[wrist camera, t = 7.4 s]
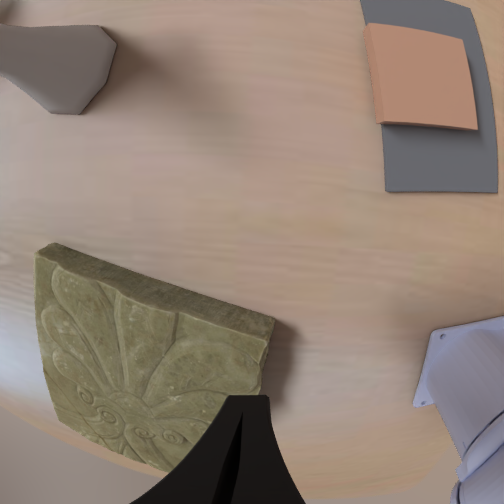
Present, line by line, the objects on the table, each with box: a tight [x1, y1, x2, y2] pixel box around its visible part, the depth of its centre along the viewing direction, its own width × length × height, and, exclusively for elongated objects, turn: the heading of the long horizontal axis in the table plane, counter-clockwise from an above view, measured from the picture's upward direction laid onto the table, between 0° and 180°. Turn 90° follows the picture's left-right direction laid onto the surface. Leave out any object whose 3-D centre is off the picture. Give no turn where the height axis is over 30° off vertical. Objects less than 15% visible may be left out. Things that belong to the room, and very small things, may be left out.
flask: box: [0, 23, 117, 114], centre depth 11 cm, size 7×7×10 cm
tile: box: [363, 23, 478, 131], centre depth 13 cm, size 2×6×6 cm
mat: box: [360, 0, 498, 193], centre depth 14 cm, size 9×14×1 cm, turn 5°
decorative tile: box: [34, 243, 275, 473], centre depth 22 cm, size 19×20×4 cm
